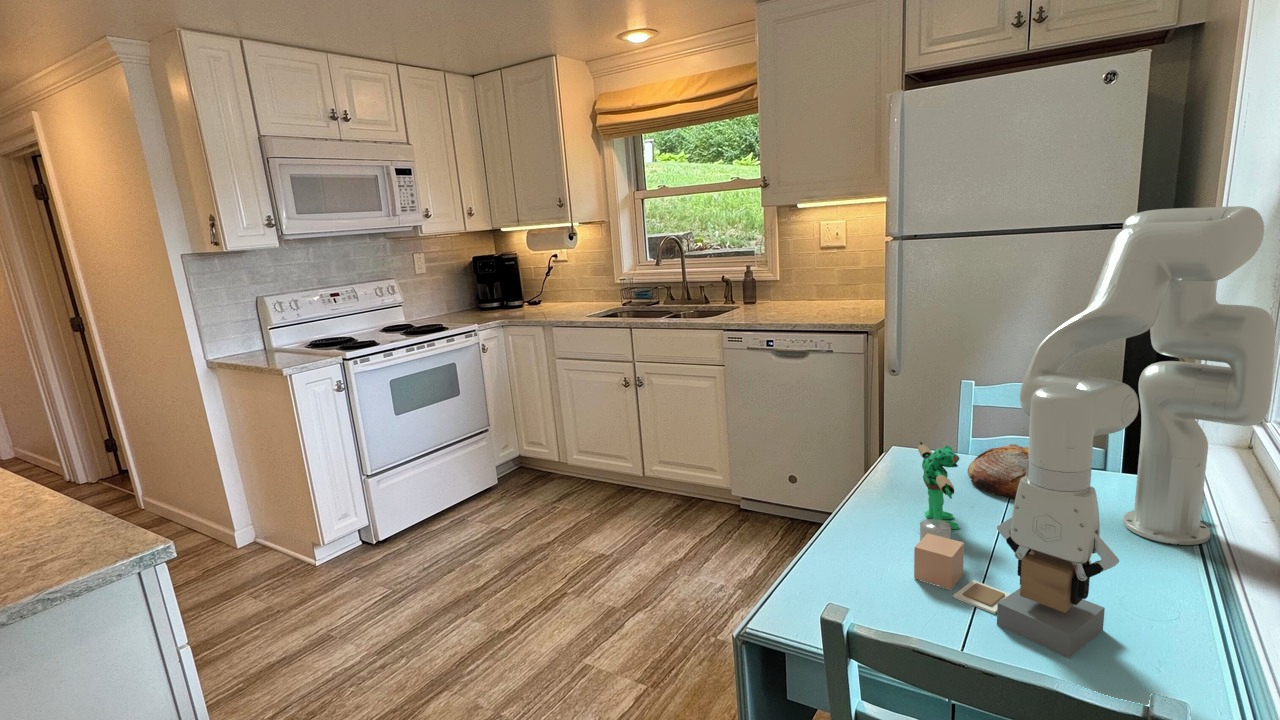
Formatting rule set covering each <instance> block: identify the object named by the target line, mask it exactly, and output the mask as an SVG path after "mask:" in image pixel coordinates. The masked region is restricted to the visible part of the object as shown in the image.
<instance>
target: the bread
mask: <svg viewBox="0 0 1280 720" xmlns="http://www.w3.org/2000/svg"><path fill="white" fill-rule="evenodd" d="M1028 453H1029V446H1028V447H1026V446H1020V445H1018V444H1012V443H1010V444H1008V443H1007V445H1004V446H999V447H993V448H990V449H987V450H986V451H984V452H982V453H980V454H979V455H977V456H976V457H975V459H973V460H972V461H971V462H970V464H969V465H968V467H967V475H968V477H969V479H971V482H972V483H973V484H974V486H976V487H977V488H978V489H980V490H983V491H986V492H988V493H991V494H992V495H996V496H1000V497H1005V498H1007V499H1011V500H1012V499H1014V500H1015V498H1016V493H1017V489H1018V486H1019V482H1020V480H1021V478H1022V477H1025V476H1026V470H1025V469H1023V468H1020V467H1018V460H1019V459H1020V458H1021V459H1028Z"/></svg>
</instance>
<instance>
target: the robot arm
mask: <svg viewBox="0 0 1280 720" xmlns="http://www.w3.org/2000/svg"><path fill="white" fill-rule="evenodd" d="M1264 235H1265V223H1264V219H1263V217H1262V215H1261V213H1260V212H1259V211H1258V210H1257V209H1255V208H1253V207H1250V206H1243V205H1241V206H1240V205H1239V206H1238V205H1237V206H1236V205H1235V206H1214V207H1213V206H1212V207H1210V206H1209V207H1208V206H1207V207H1181V208H1180V207H1179V208H1178V207H1177V208H1161V209H1152V210H1144V211H1140V212H1137V213H1134V214H1131V215H1130V216H1129V217H1128V218H1126V220H1125V221H1124V223H1123V225H1122V230H1121V231H1120V232H1118V233H1117V234H1116V236H1115V238H1114V239H1113V240H1112V243H1111V245H1110V249H1109V251H1108V253H1107V255H1106V259H1105V262H1104V263H1103V266H1102V268H1101V272H1100V274H1099V277H1098V279H1097V282H1096V284H1095V286H1094V289H1093V292H1092V295H1091V297H1090V300H1089V302H1088V305H1087V306H1086V308H1085V309H1084V310H1082V311H1081V312H1079V313H1078V314H1076V315H1074V316H1073V317H1071V318H1069V319H1067V320H1066V321H1065V322H1063V323H1062V324H1061V325H1059V326H1058V327H1057V328H1055V329H1054V330H1053V331H1052V332H1050V333H1049V334H1048V335H1047V336H1046V337H1045V338H1044V339H1043V340H1042V341H1041V342H1040V343H1039V345H1037V347H1036V349H1035V350H1034V353H1033V355H1032V357H1031V360H1030V362H1029V364H1028V367H1027V370H1026V373H1025V375H1024V377H1023V380H1022V383H1021V387H1020V392H1019V402H1020V403H1019V404H1020V407H1021V409H1022V411H1023V412H1024V413H1025V415H1027V416H1028V417H1029V434H1028V437H1029V438H1028V448H1029V453H1028V459H1021V458H1020V459H1019V460H1018V467H1020V468H1023V469H1025V470H1026V476H1025V477H1022V478H1021V480H1020V482H1019V486H1018V489H1017V493H1016V498H1015V499H1014V503H1013V508H1012V510H1013V511H1012V516H1011V517H1010V518H1008V519H1006V520H1005V521H1003V522H1001V523H1000V524H998V525H997V526H996V530H997V531H998V533H1000V535H1001V536H1002V537H1003V539H1005V542H1006V543H1007V545H1008V546H1009V547H1010V549H1011V550H1012V551H1013V553H1014V557H1015V558H1016V559H1017V576H1018V577H1019V585H1021V564H1022V558H1023V557H1024V556H1025V555H1027V554H1028V553H1029V552H1030V551H1032V550H1034V551H1037V552H1040V553H1043V554H1047V555H1050V556H1053V557H1056V558H1059V559H1062V560H1066V561H1069V562H1072V565H1073V567H1074V570H1075V573H1076V576H1074V577H1073V579H1072V587H1071V602H1072V604H1074V605H1077V604H1078V603H1079V602H1080V601H1081V600H1082V599H1084V600H1086V599H1087V598H1088V596H1089V590H1090V579H1091V578H1092V577H1095V576H1097V575H1098V574H1100V573H1102V572H1104V571H1107V570H1109V569H1110V570H1111V569H1113V567H1116V566H1117V565H1118V564H1119V563H1120V559H1119V558H1118V556H1117V555H1116V554H1115V552H1113V551H1112V549H1110V547H1109V545H1107V544H1106V542H1104V540H1103V539H1102V538H1101V536H1100V535H1101V534H1100V532H1101V531H1100V530H1101V529H1100V528H1101V527H1100V509H1099V502H1098V497H1097V493H1096V489H1095V487H1093V486H1091V482H1092V481H1091V479H1092V468H1093V467H1092V466H1093V465H1092V464H1093V451H1094V450H1093V448H1094V437H1096V436H1097V437H1098V436H1103V435H1110V434H1115V433H1117V432H1120V431H1123V430H1124V429H1126V428H1127V427H1129V426H1130V425H1131V424H1132V423H1133V422H1134V420H1135V419H1136V418H1137V416H1138V413H1139V408H1140V414H1141V420H1140V421H1141V425H1140V426H1141V427H1140V443H1139V453H1138V461H1137V462H1138V464H1137V476H1136V489H1135V496H1134V497H1135V499H1134V510H1131V511H1128V512H1126V513H1125V514H1124V515H1123V518H1122V523H1123V525H1124V527H1126V529H1128V530H1129V531H1131V532H1132V533H1134V534H1136V535H1138V536H1140V537H1143V538H1146V539H1148V540H1151V541H1155V542H1159V543H1163V544H1169V543H1170V545H1177V544H1179V545H1178V546H1195V545H1200V544H1201V545H1202V544H1204V543H1206V542H1208V541H1209V540H1210V538H1211V530H1210V528H1209V527H1207V526H1206V525H1205V523H1203V522H1201V516H1202V509H1203V501H1204V500H1203V497H1204V488H1205V480H1206V471H1207V461H1208V454H1209V442H1208V438H1207V435H1206V433H1205V431H1204V429H1202V427H1201V426H1200V423H1198V421H1197V420H1201V421H1205V422H1212V423H1219V424H1225V425H1232V426H1240V427H1251V426H1255V425H1258V424H1259V423H1262V421H1264V420H1265V418H1266V417H1267V415H1268V413H1269V409H1270V406H1271V401H1272V390H1273V375H1274V365H1275V364H1274V363H1275V351H1276V350H1275V349H1276V325H1275V321H1274V319H1273V317H1272V315H1271V313H1270V312H1269V311H1267V310H1265V309H1264V308H1261V307H1258V306H1254V305H1246V304H1245V305H1243V304H1224V303H1219V302H1218V301H1217V299H1216V294H1217V293H1216V292H1217V281H1220V280H1223V279H1224V278H1227V277H1228V276H1230V275H1231V274H1233V273H1234V272H1235V271H1238V269H1240V268H1241V267H1243V266H1244V265H1245V264H1246V263H1248V262H1249V261H1250V260H1252V258H1253V257H1254V256H1255V255H1256V253H1257V252H1258V251H1259V248H1260V247H1261V245H1262V243H1263V240H1264ZM1148 331H1149V334H1150V340H1151V341H1150V342H1151V346H1152V348H1153V350H1154V351H1156V352H1157V353H1159V354H1160V355H1164V356H1167V357H1173V358H1178V359H1188V360H1196V361H1206V362H1216V363H1225V364H1227V365H1228V366H1222V365H1213V364H1207V363H1205V364H1204V363H1198V362H1186V361H1175V360H1166V361H1165V360H1164V361H1158V362H1155V363H1151V364H1150V365H1147V366H1146V367H1145V368H1144V369H1143V370H1142V372H1141V374H1140V376H1139V380H1138V386H1137V387H1138V394H1137V393H1136V391H1135V390H1134V389H1133V388H1132V387H1131V386H1130V385H1129V384H1127V383H1124V382H1122V381H1118V380H1115V379H1109V378H1102V377H1093V376H1087V375H1080V374H1073V373H1066V372H1060V370H1061V369H1062V367H1063V366H1064V365H1065V364H1066V363H1067V361H1068V362H1069V360H1070V359H1072V358H1073V357H1074V356H1076V355H1078V354H1080V353H1082V352H1084V351H1086V350H1087V351H1088V350H1090V349H1092V348H1094V347H1098V346H1103V345H1106V344H1110V343H1113V342H1117V341H1121V340H1125V339H1129V338H1133V337H1136V336H1139V335H1141V334H1144V333H1146V332H1148ZM1138 395H1139V397H1138ZM1139 404H1140V407H1139ZM1092 554H1097V555H1098V556H1099V558H1100V560H1096V561H1094V562H1092V560H1091V558H1092Z"/></svg>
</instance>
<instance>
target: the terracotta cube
mask: <svg viewBox="0 0 1280 720" xmlns="http://www.w3.org/2000/svg"><path fill="white" fill-rule="evenodd" d="M913 553H914V554H913V555H914V557H913V558H914V560H913V569H914V570H913V579H914V578H915V579H914V580H916V579H919V580H922V581H925V582H924V583H926V582H928V583H927V584H929V583H932V584H935V585H939V586H941V587H940V588H942V587H944V588H943V589H945V588H948V589H947V590H949V589H953V588H954V587H955V586H956V584H957V583H958V582H959V580H960V579H961V578H962V577H963V576H964V553H965V542H963V541H960V540H955V539H952V538H950V539H948V538H944V537H940V536H936V535H932V534H928V533H927V534H926V535H925V536H924V537H923V539H922V540H921V541H920V540H919V541H918V543H917V544H916V545H915V546H914V551H913ZM919 580H918V581H919ZM922 581H921V582H922ZM957 581H958V582H957ZM932 584H931V585H932ZM935 585H934V586H935ZM954 585H955V586H954ZM939 586H938V587H939Z"/></svg>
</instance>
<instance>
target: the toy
mask: <svg viewBox="0 0 1280 720" xmlns="http://www.w3.org/2000/svg"><path fill="white" fill-rule="evenodd" d="M917 450H918V452H919V454H920V456H921V458H922V459H923V460H922V463H921V468H922V470H923V476H922V479H923V482H924V484H925V486H926V488H927V495H928V510H927V511H925V512H924V514H925V517H926V519H938V520H942V521H945V522H947V523H949V524H950V526H951V530H961V527H960V526H959V524H958V523H956V522H954V521H950V520H955V517H954V516H953V515H954V514H952V513H950V512H948V511H944V509H943V507H944V503H945V500H944V495H945V496H947V497H948V498H949V499H950V500H951V499H952V498H953V495H954V494H955V487H954V485H953V483H952V481H951V480H950V479H949V478H948V471H947V470H946V468H958V467H959V464H957V463H958V462H959V461H960V460H961V458H960V456H959V455H957V454H956V452H954V450H953V448H952V447H951V446H950V445H945V446H944V447H943V448H936V449H935V450H934V452H932V450H931V449H930V448H929V447H928V445H927V446H926V445H925V444H923V442H922V441H920V442H919V446H917ZM944 467H945V468H944Z"/></svg>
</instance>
